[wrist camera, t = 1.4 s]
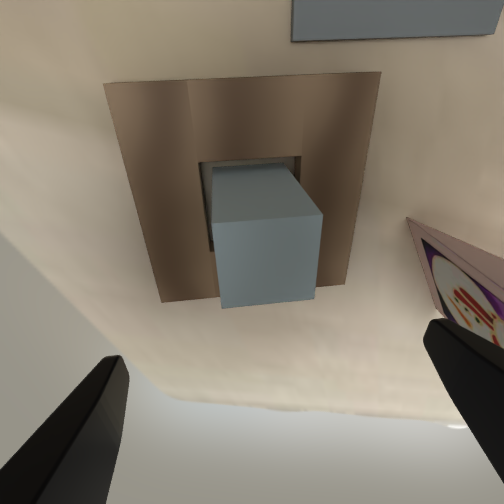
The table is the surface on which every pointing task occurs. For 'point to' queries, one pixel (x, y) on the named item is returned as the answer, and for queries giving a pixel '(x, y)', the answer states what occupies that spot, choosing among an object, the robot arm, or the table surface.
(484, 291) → the greeting card
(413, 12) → the slate mat
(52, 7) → the table surface
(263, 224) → the greyblue block
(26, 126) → the table surface
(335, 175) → the walnut pocket frame
